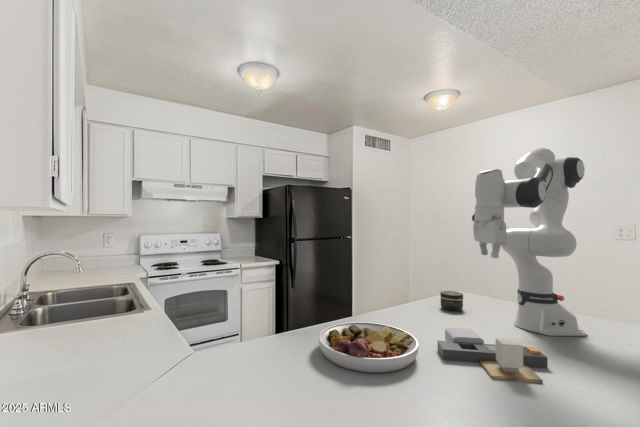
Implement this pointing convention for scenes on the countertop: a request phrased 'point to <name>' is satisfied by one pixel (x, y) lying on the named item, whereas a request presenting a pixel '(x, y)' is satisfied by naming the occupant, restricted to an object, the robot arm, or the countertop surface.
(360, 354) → the bowl
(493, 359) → the power strip
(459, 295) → the jar
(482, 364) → the cork mat
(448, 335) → the charger
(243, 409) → the countertop surface
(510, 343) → the charger
